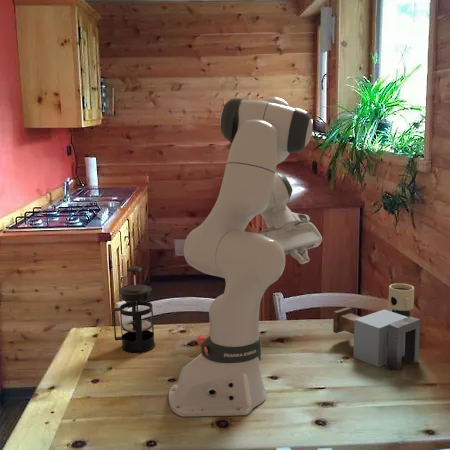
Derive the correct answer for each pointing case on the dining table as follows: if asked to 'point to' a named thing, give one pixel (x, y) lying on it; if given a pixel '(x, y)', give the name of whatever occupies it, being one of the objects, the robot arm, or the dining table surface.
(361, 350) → the grey rectangular block
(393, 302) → the character mug
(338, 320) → the shaft
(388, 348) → the block
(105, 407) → the dining table surface
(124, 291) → the french press
